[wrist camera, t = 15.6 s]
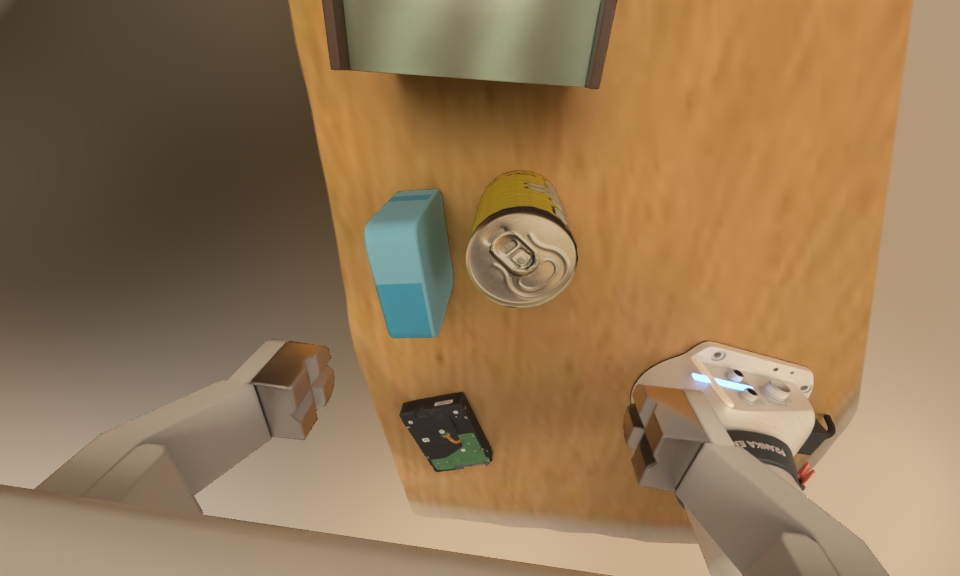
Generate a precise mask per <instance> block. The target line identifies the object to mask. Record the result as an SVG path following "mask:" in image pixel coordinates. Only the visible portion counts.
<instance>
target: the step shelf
mask: <svg viewBox="0 0 960 576" xmlns="http://www.w3.org/2000/svg"><path fill="white" fill-rule="evenodd" d="M322 4H323V12H324V19H325V27H326V35H327V42H328V50H329V58H330V65H331V69H332V70H352V71H366V72H379V73H393V74H407V75H420V76H434V77H447V78H461V79H474V80H488V81H502V82H515V83H529V84H542V85H556V86H569V87H583V88H584V87H585V88H589V89H599V87H600V82H601V77H602V72H603V67H604V62H605V57H606V53H607V48H608V43H609V38H610V33H611V28H612V23H613V18H614V13H615V9H616V4H617V0H322Z"/></svg>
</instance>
